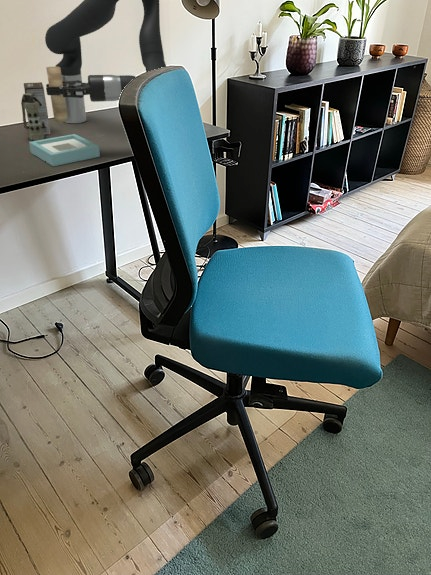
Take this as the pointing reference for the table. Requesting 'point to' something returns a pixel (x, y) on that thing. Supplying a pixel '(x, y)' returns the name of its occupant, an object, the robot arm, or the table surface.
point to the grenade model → (32, 116)
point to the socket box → (64, 149)
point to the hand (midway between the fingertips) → (46, 89)
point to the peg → (57, 100)
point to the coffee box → (40, 96)
